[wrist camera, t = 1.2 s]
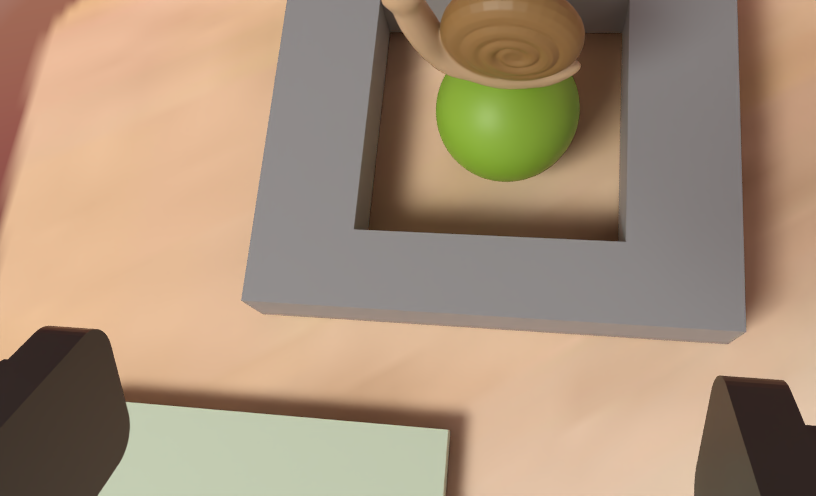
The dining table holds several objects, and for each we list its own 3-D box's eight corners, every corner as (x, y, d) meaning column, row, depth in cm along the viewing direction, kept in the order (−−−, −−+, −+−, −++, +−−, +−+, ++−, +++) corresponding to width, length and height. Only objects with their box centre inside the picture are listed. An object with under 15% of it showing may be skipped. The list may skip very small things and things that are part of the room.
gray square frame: (719, -29, 33) (735, -68, 31) (727, 344, 29) (746, 331, 26) (311, -26, 36) (296, -62, 34) (262, 313, 32) (241, 300, 29)
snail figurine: (429, 75, 34) (381, -131, 22) (580, 85, 33) (611, -127, 21) (411, 193, 32) (350, 36, 21) (568, 207, 31) (594, 50, 20)
